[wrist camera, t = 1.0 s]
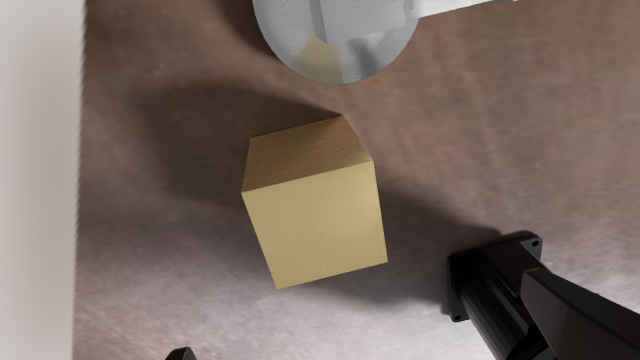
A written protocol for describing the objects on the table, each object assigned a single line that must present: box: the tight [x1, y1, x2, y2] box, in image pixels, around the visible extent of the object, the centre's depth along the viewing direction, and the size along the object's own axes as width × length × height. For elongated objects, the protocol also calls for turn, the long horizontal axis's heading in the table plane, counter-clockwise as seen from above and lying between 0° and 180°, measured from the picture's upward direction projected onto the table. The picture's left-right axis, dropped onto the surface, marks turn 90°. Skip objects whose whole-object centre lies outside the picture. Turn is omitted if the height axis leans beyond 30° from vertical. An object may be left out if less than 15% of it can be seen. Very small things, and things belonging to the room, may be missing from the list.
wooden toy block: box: [241, 115, 388, 290], centre depth 16 cm, size 5×5×6 cm
